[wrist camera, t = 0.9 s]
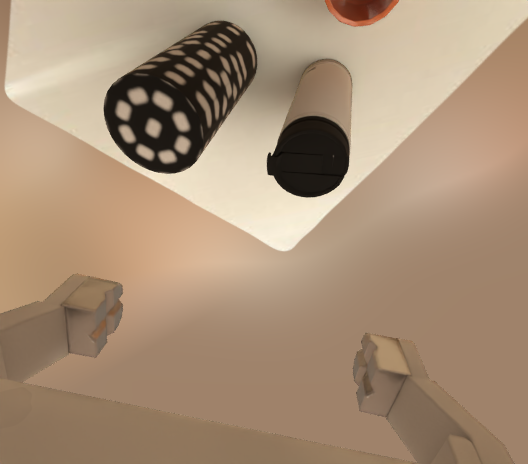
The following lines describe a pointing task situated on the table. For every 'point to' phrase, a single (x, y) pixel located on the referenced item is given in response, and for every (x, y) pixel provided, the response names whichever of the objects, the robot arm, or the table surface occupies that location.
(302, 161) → the travel mug
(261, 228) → the table surface
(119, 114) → the spotted tube
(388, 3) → the terracotta cup
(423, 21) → the table surface
